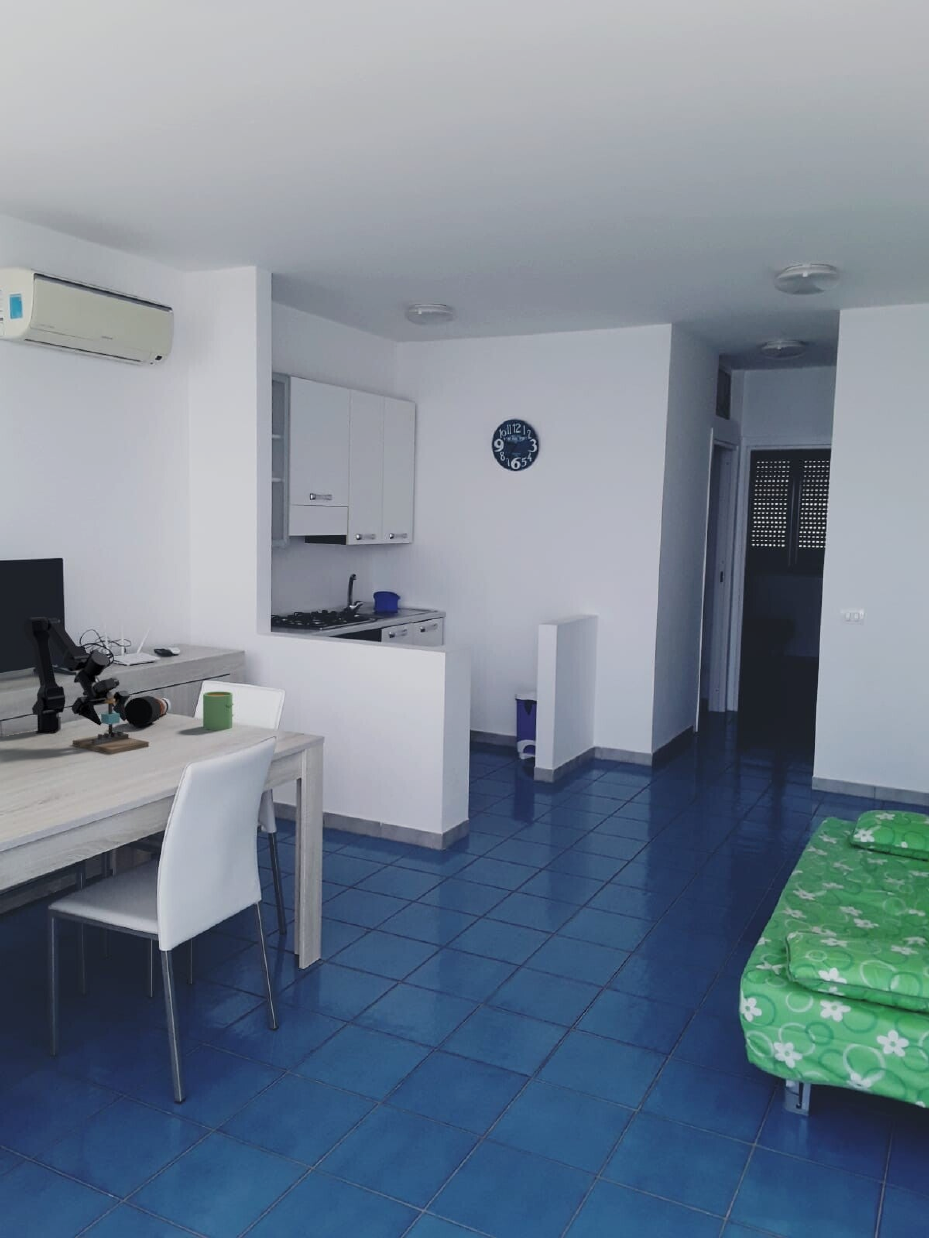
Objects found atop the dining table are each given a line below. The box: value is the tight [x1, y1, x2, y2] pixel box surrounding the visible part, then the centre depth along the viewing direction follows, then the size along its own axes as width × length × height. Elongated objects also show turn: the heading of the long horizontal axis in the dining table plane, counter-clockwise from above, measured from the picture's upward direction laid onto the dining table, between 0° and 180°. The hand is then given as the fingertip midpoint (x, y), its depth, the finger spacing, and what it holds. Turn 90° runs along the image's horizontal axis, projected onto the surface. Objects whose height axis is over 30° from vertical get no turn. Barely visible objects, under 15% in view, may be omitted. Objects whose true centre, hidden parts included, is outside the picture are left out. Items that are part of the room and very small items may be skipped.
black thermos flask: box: [125, 695, 172, 727], centre depth 365 cm, size 10×34×10 cm, turn 0°
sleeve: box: [100, 711, 121, 726], centre depth 320 cm, size 4×4×3 cm
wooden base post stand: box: [72, 692, 150, 755], centre depth 320 cm, size 20×14×17 cm
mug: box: [202, 690, 234, 731], centre depth 354 cm, size 13×10×12 cm
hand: (112, 722), depth 319 cm, fingers open, 9 cm apart
